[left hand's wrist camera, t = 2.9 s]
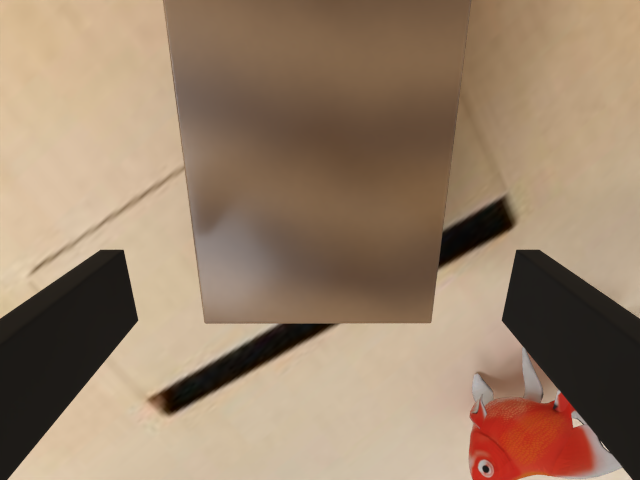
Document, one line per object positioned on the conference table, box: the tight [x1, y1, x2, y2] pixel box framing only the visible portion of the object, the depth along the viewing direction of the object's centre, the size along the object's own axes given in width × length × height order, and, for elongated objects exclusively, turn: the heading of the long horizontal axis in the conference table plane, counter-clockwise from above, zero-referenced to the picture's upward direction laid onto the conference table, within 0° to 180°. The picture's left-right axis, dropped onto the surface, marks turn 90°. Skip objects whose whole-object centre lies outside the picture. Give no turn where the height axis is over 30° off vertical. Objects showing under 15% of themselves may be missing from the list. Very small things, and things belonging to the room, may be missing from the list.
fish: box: [469, 347, 623, 480], centre depth 26 cm, size 11×16×10 cm
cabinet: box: [163, 0, 471, 323], centre depth 19 cm, size 20×11×8 cm, turn 0°
